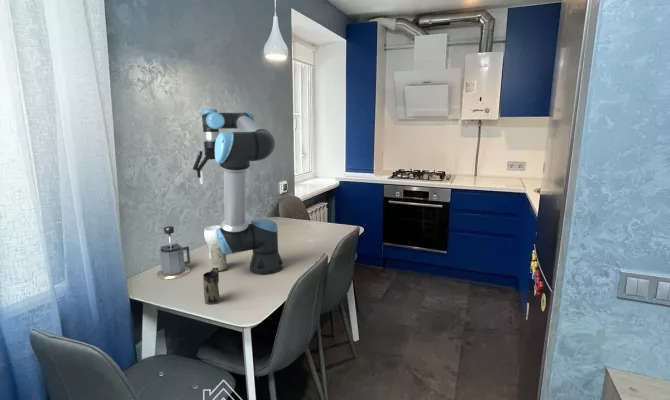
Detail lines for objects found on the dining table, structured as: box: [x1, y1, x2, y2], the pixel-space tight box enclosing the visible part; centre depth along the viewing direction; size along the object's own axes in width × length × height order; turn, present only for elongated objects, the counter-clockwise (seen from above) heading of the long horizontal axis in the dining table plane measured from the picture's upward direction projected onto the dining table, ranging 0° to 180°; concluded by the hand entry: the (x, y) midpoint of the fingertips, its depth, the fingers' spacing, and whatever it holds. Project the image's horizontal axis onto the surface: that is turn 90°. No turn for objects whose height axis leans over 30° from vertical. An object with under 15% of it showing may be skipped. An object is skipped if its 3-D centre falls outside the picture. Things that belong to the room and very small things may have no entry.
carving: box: [209, 243, 228, 271], centre depth 168 cm, size 6×8×12 cm
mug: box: [202, 267, 221, 305], centre depth 139 cm, size 8×6×12 cm
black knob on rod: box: [163, 225, 175, 252], centre depth 164 cm, size 6×6×19 cm
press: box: [156, 243, 191, 280], centre depth 165 cm, size 14×14×12 cm
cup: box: [203, 225, 221, 259], centre depth 185 cm, size 11×11×15 cm
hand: (215, 182), depth 188 cm, fingers open, 13 cm apart
